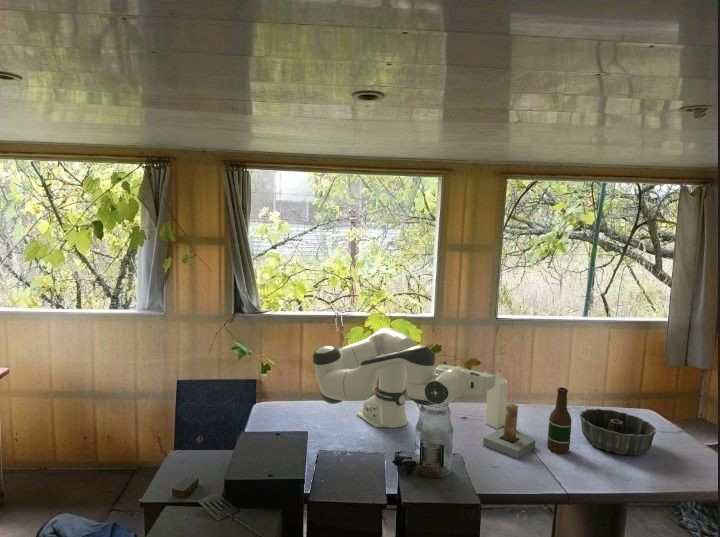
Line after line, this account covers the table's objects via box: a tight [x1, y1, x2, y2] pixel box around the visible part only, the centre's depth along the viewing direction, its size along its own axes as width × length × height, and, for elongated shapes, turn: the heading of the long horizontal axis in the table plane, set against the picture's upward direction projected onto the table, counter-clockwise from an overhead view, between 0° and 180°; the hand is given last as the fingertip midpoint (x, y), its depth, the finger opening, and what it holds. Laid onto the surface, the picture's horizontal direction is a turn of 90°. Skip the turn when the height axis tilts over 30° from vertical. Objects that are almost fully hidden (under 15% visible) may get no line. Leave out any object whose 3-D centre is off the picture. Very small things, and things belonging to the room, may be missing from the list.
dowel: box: [503, 403, 519, 444], centre depth 181 cm, size 4×4×16 cm
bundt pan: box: [579, 408, 657, 457], centre depth 186 cm, size 26×26×10 cm
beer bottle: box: [546, 386, 572, 455], centre depth 179 cm, size 8×8×24 cm
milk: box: [485, 372, 509, 430], centre depth 201 cm, size 6×6×22 cm
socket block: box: [482, 427, 536, 459], centre depth 182 cm, size 14×14×3 cm
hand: (472, 371), depth 168 cm, fingers open, 8 cm apart
